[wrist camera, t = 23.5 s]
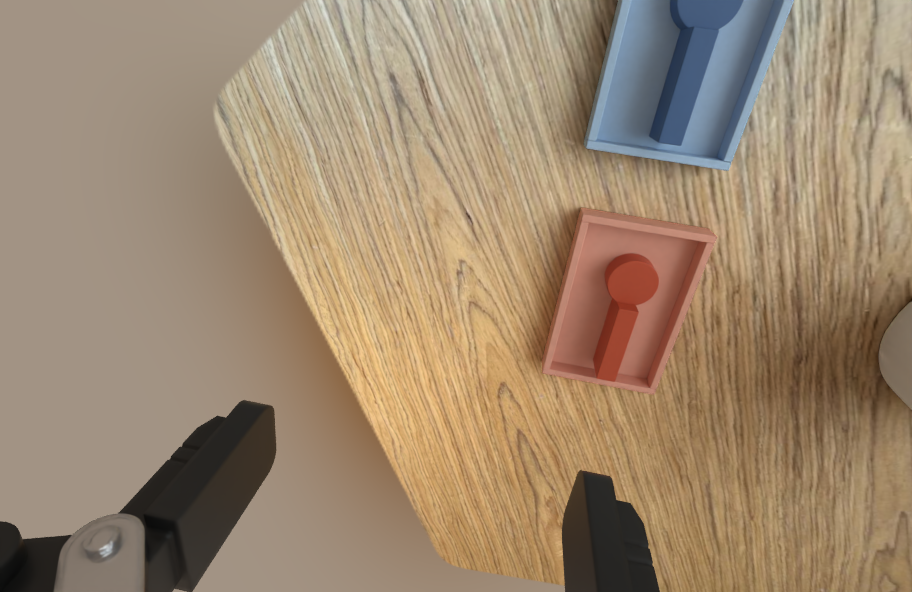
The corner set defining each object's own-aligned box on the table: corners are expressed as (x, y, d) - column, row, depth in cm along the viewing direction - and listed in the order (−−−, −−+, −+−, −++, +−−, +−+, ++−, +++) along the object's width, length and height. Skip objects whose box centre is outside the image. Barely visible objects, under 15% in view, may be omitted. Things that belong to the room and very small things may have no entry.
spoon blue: (686, 142, 35) (699, 149, 32) (631, 134, 35) (639, 140, 33) (745, -34, 30) (766, -43, 28) (681, -42, 31) (695, -51, 28)
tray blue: (719, 165, 36) (728, 171, 34) (583, 144, 37) (585, 148, 35) (813, -86, 29) (831, -96, 27) (643, -106, 30) (650, -117, 28)
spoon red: (623, 365, 44) (628, 385, 41) (579, 357, 44) (582, 376, 42) (660, 257, 39) (670, 271, 36) (611, 249, 39) (617, 262, 37)
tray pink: (649, 381, 45) (654, 395, 43) (541, 361, 46) (541, 373, 44) (709, 228, 38) (717, 236, 36) (580, 207, 39) (583, 214, 37)
